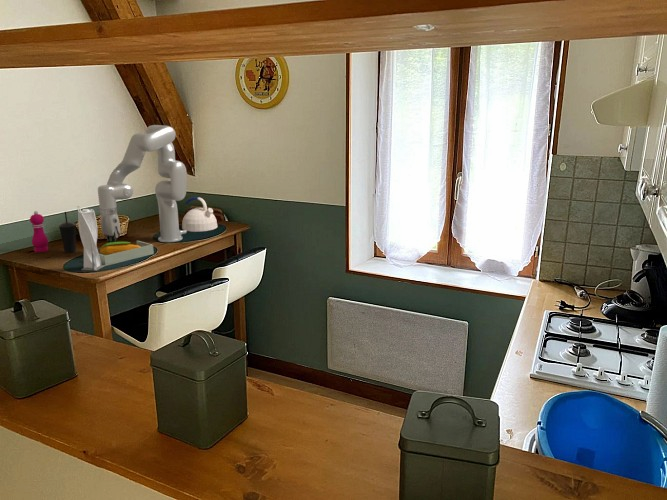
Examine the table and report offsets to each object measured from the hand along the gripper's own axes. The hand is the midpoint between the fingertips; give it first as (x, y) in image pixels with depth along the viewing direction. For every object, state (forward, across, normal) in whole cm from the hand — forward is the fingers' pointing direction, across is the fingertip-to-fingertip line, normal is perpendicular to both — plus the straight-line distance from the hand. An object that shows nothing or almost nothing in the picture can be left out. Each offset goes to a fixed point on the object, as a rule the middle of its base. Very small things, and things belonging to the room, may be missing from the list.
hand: (112, 248), depth 271 cm
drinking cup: (+3, +20, +11) cm, 23 cm away
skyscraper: (+3, -13, +18) cm, 22 cm away
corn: (+3, -8, -1) cm, 8 cm away
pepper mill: (+3, +33, +19) cm, 38 cm away
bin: (+3, -9, 0) cm, 9 cm away
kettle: (+3, +12, -62) cm, 63 cm away
